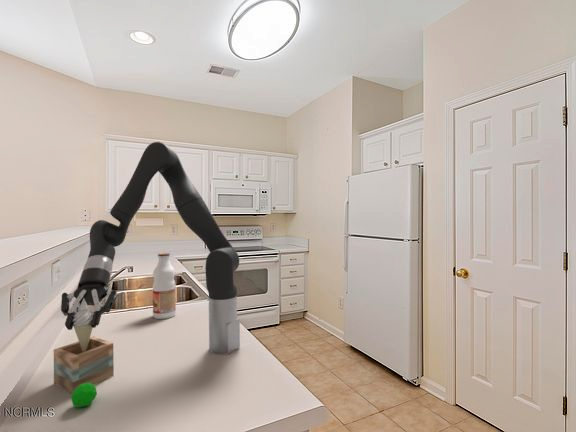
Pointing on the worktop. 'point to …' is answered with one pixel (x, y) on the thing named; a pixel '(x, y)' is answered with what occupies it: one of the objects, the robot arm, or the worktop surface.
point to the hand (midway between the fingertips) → (81, 327)
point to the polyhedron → (84, 395)
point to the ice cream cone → (83, 324)
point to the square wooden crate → (83, 364)
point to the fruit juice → (164, 288)
